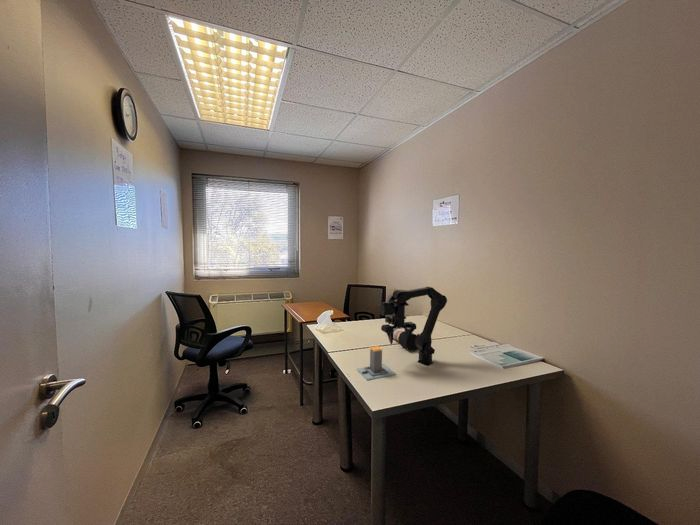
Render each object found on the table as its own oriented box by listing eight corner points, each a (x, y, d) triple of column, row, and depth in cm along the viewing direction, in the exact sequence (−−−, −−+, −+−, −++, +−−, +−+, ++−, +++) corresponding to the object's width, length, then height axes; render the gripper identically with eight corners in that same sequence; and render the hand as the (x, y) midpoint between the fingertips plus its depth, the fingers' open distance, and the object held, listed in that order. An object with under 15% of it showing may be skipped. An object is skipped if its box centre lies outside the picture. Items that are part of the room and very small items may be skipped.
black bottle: (392, 340, 200) (397, 327, 202) (416, 353, 168) (423, 338, 169) (380, 335, 198) (386, 322, 200) (403, 347, 165) (409, 331, 167)
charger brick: (377, 368, 143) (377, 346, 143) (381, 372, 139) (382, 349, 139) (370, 370, 142) (370, 347, 141) (374, 373, 138) (374, 350, 137)
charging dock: (383, 364, 149) (383, 362, 149) (395, 374, 138) (395, 371, 138) (356, 369, 143) (356, 366, 143) (367, 380, 132) (367, 377, 132)
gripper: (405, 309, 156) (404, 336, 157) (376, 312, 149) (376, 340, 150) (417, 313, 146) (416, 342, 147) (386, 317, 139) (386, 347, 140)
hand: (398, 342), depth 146 cm, fingers open, 9 cm apart
